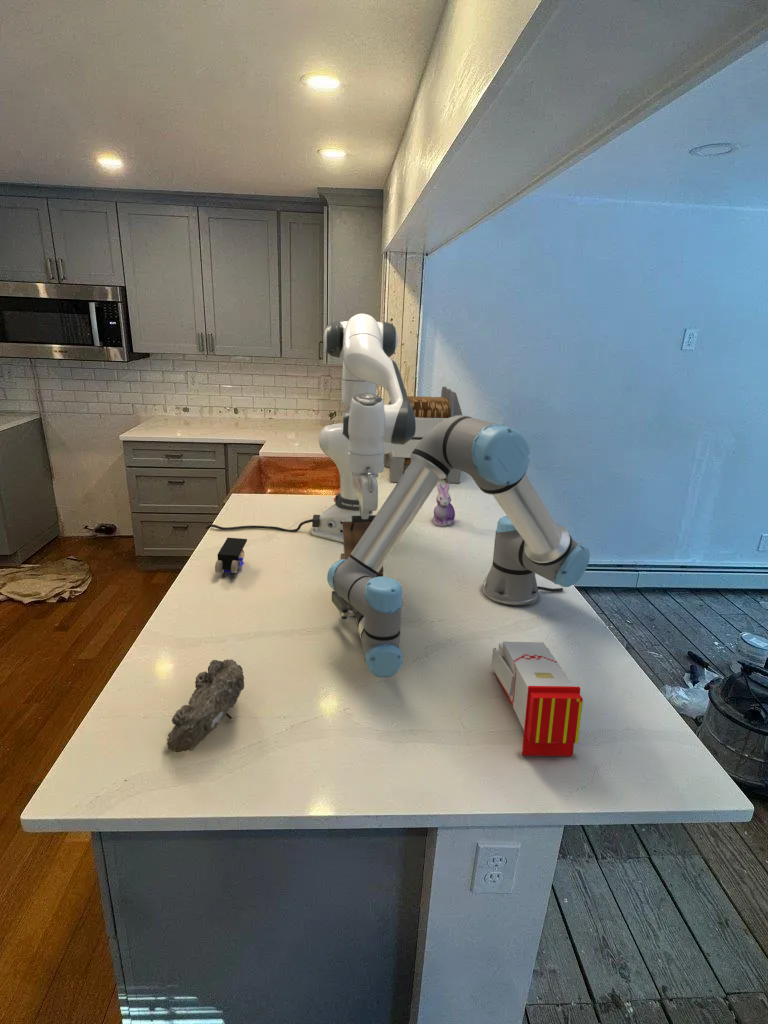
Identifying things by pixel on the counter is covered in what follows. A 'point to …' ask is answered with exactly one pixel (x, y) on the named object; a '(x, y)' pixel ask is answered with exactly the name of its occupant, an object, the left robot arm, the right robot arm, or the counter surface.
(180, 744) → the fossil
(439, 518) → the figurine
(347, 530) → the lid
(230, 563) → the black wheeled toy vehicle
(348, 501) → the left robot arm
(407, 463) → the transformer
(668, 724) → the counter surface
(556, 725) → the toy
